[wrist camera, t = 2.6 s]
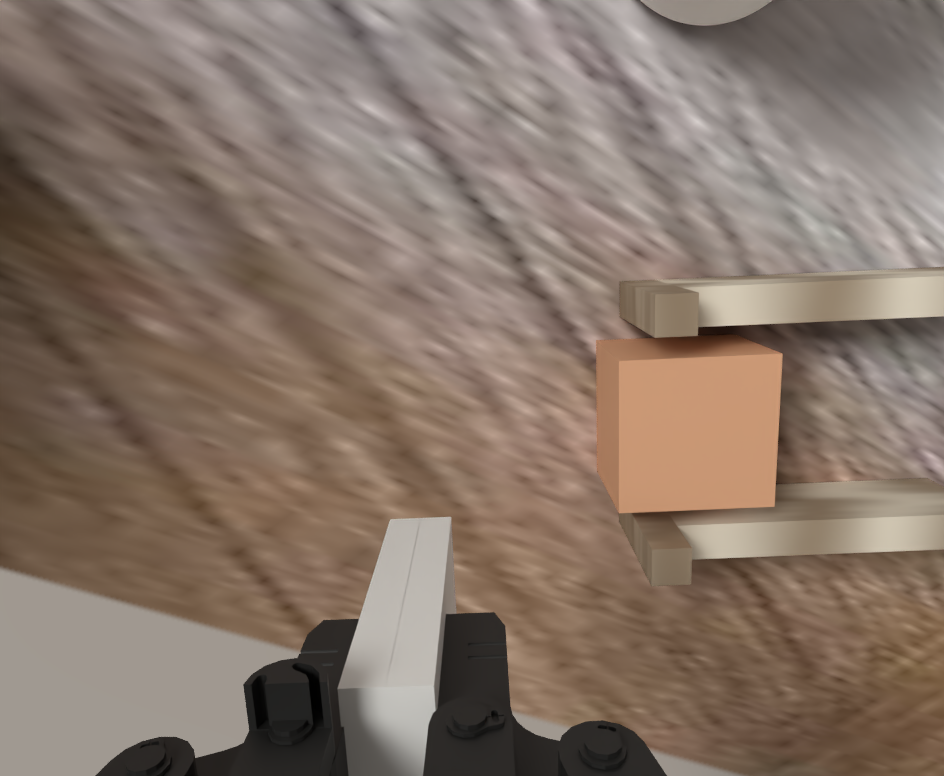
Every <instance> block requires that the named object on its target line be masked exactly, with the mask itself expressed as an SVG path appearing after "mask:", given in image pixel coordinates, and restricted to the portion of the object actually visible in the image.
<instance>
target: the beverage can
mask: <svg viewBox="0 0 944 776" xmlns="http://www.w3.org/2000/svg"><path fill="white" fill-rule="evenodd" d="M640 1H641V2H643V3H644V4H645V5H646V6H648V7H649V8H650V9H652V10H653V11H655V12H657V13H658V14H660V15H662V16H664V17H666V18H669V19H671V20H674V21H677V22H680V23H685V24H690V25H700V26H708V25H719V24H724V23H729V22H732V21H736V20H739V19H741V18H744V17H746V16H748V15H750V14H752V13H754V12H756V11H758V10H759V9H761V8H762V7H764V6H765V5H767V4H768V3H770V2H771V1H772V0H640Z"/></svg>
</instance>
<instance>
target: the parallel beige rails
mask: <svg viewBox="0 0 944 776" xmlns="http://www.w3.org/2000/svg"><path fill="white" fill-rule="evenodd" d="M938 316H944V267H932V268H910V269H888V270H866V271H844V272H821V273H799V274H777V275H755V276H733V277H710V278H688V279H666V280H644V281H622V282H620V317H621V318H623V319H624V320H626V321H628V322H629V323H631V324H633V325H634V326H636V327H638V328H639V329H641V330H643V331H644V332H646V333H648V334H649V335H651V336H653V337H654V338H660V337H683V336H698V327H712V326H735V325H758V324H780V323H803V322H825V321H848V320H870V319H893V318H916V317H938ZM619 522H620V524H621V526H622V528H623V530H624V532H625V534H626V536H627V538H628V540H629V542H630V544H631V546H632V548H633V550H634V552H635V554H636V556H637V558H638V560H639V562H640V564H641V566H642V568H643V570H644V572H645V574H646V576H647V578H648V580H649V582H650V584H651V586H669V585H691V572H692V560H693V559H718V558H742V557H767V556H792V555H816V554H841V553H866V552H890V551H915V550H940V549H944V487H943V486H941V485H939V484H937V483H935V482H934V481H932V480H930V479H928V478H918V479H894V480H870V481H846V482H822V483H798V484H776V488H775V507H757V508H733V509H709V510H686V511H662V512H638V513H619Z"/></svg>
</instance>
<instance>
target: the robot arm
mask: <svg viewBox="0 0 944 776" xmlns="http://www.w3.org/2000/svg"><path fill="white" fill-rule="evenodd" d="M244 693H245V700H246V708H247V715H248V723H249V733H248V735H247V737H246V739H245V741H244V743H243V744H240V745H239V746H237V747H233V748H230V749H228V750H225V751H221V752H217V753H214V754H210V755H206V756H202V757H198V758H195V755H194V749H193V748H192V747H191V745H190V744H189V743H188V741H185V740H183V739H180V738H177V737H158V738H154V739H150V740H146V741H142V742H140V743H138V744H136V745H134V746H132V747H130V748H128V749H125V750H124V751H123V752H122V753H120V754H119V755H117V756H116V757H115V758H114V759H112V760H111V761H110V762H109V763H108V764H107V765H106V766H105V767H104V768H103V769H102V770H101V771H100V772H99V773H98V774H97V775H96V776H667V775H666V774H665V773H664V771H663V769H662V768H661V766H660V765H659V764H658V762H657V760H656V759H655V757H654V756H653V754H652V753H651V751H650V750H649V748H648V747H647V746H646V744H645V743H644V741H643V740H642V739H641V738H640V737H639V736H638V735H637V734H636V733H635V732H634V731H632V730H630V729H628V728H626V727H624V726H622V725H620V724H616V723H611V722H606V721H588V722H584V723H581V724H578V725H576V726H573V727H571V728H570V729H569V730H568V731H567V732H566V733H565V734H563V735H562V737H561V740H560V741H557V740H552V739H548V738H545V737H541V736H538V735H535V734H533V733H531V732H530V731H528V730H526V729H525V728H523V727H522V726H521V725H520V724H519V723H518V722H517V721H516V719H515V718H514V716H513V715H512V711H511V707H510V695H509V679H508V663H507V648H506V632H505V625H504V624H503V623H502V622H501V620H500V619H499V618H498V617H497V615H496V614H495V613H465V614H456V597H455V579H454V561H453V542H452V524H451V517H437V518H410V519H390V522H389V525H388V528H387V532H386V535H385V538H384V541H383V544H382V548H381V551H380V554H379V557H378V560H377V564H376V567H375V570H374V573H373V576H372V580H371V583H370V586H369V589H368V592H367V596H366V599H365V602H364V605H363V608H362V612H361V615H360V618H359V619H345V620H323V621H322V622H321V623H320V624H319V625H318V626H317V627H316V628H314V629H313V630H312V631H311V632H310V633H309V634H308V635H307V637H306V640H305V642H304V644H303V647H302V649H301V654H299V656H298V658H294V659H287V660H281V661H278V662H275V663H272V664H269V665H267V666H264V667H263V668H261V669H260V670H258V671H257V672H255V673H253V674H252V675H251V676H250V677H249V679H248V680H247V681H246V682H245V684H244Z"/></svg>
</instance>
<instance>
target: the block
mask: <svg viewBox="0 0 944 776" xmlns="http://www.w3.org/2000/svg"><path fill="white" fill-rule="evenodd" d="M782 356H783V354H782V353H780V352H777V351H775V350H772V349H770V348H767V347H765V346H762V345H760V344H757V343H755V342H752V341H750V340H747V339H745V338H743V337H740V336H738V335H735V334H728V335H706V336H684V337H661V338H639V339H617V340H596V372H597V472H598V474H599V475H600V477H601V479H602V481H603V483H604V485H605V487H606V489H607V491H608V493H609V495H610V497H611V499H612V501H613V503H614V505H615V507H616V509H617V511H618V513H638V512H662V511H686V510H709V509H733V508H757V507H775V488H776V469H777V451H778V432H779V413H780V394H781V375H782Z"/></svg>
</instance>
